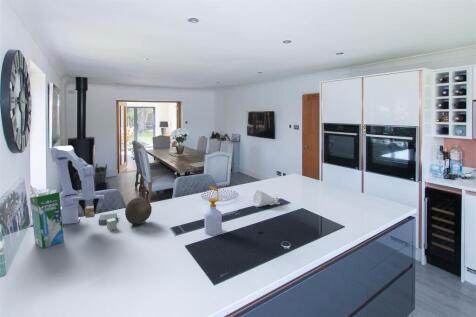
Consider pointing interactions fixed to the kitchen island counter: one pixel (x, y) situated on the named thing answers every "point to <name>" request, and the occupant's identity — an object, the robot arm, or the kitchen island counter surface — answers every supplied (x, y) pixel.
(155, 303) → the kitchen island counter surface
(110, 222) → the sage block
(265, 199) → the rocket engine
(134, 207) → the cantaloupe
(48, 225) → the milk carton
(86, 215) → the oak block
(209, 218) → the soap bottle
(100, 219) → the slate base
